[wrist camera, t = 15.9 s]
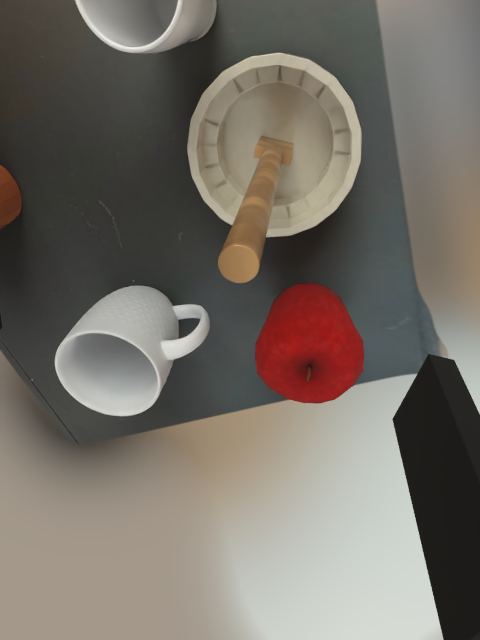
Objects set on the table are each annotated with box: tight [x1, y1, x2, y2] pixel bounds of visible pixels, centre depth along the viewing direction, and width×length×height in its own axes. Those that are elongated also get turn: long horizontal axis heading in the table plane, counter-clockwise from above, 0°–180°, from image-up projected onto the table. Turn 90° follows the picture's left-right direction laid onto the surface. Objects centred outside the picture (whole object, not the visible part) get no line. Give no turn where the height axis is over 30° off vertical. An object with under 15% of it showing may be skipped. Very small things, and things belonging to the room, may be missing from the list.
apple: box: [255, 283, 364, 403], centre depth 45 cm, size 10×10×14 cm
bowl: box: [187, 52, 362, 237], centre depth 39 cm, size 15×15×6 cm
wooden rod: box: [218, 136, 294, 283], centre depth 30 cm, size 3×2×27 cm, turn 79°
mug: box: [55, 286, 210, 416], centre depth 48 cm, size 15×11×13 cm
